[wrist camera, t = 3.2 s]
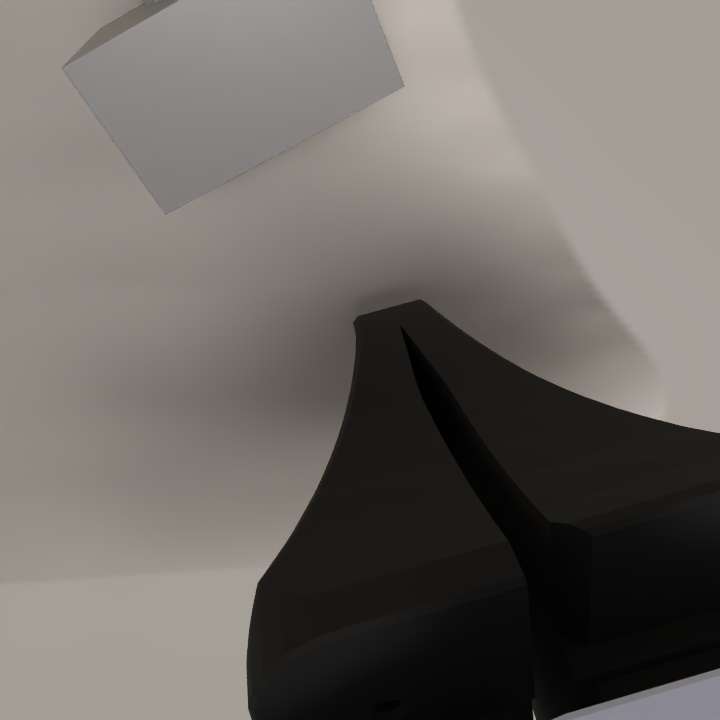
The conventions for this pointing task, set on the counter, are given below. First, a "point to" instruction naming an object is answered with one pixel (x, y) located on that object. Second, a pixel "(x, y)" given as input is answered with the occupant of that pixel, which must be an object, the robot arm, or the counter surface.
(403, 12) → the counter surface
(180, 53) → the plug
